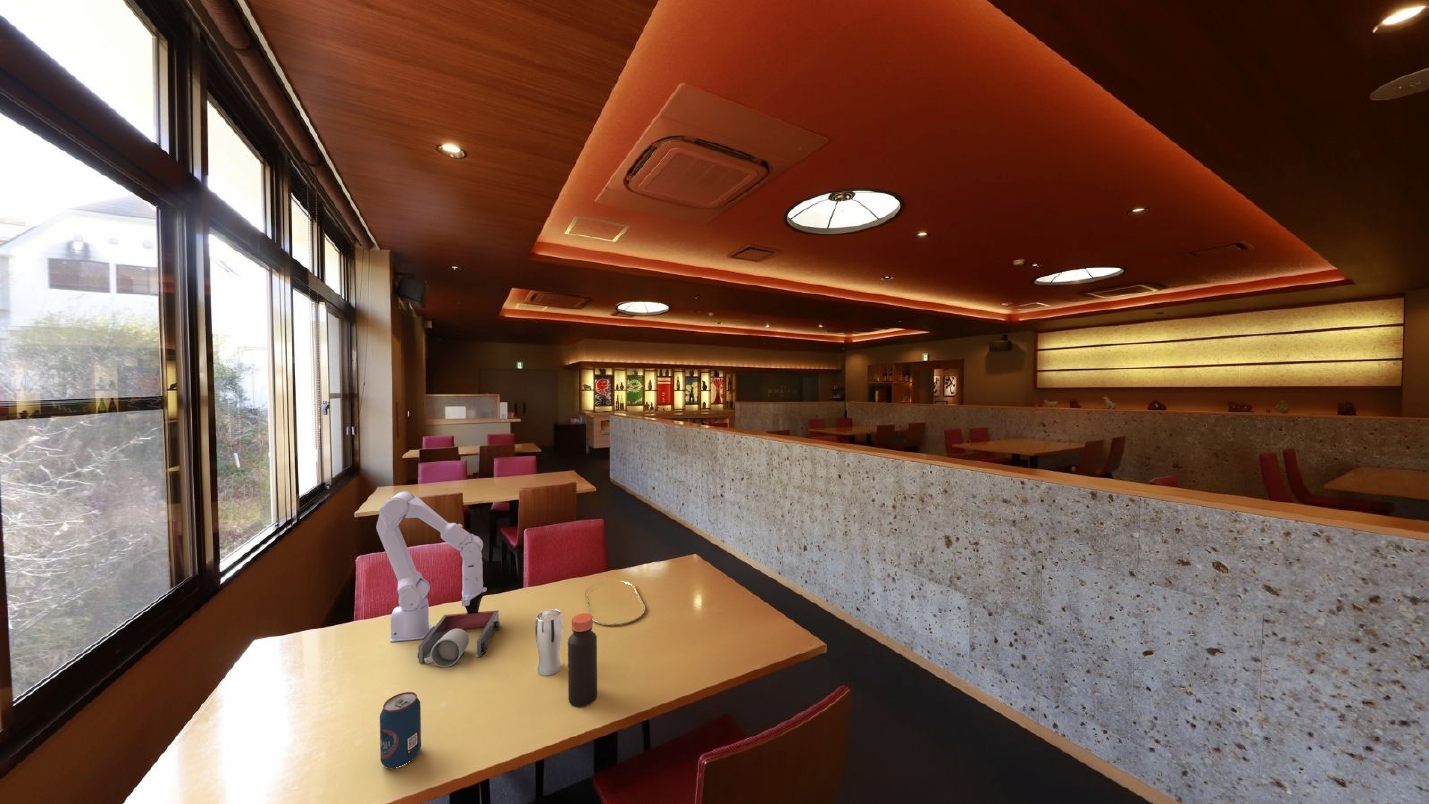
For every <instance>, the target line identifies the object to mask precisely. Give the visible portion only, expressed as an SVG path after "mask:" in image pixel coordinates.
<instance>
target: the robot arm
mask: <svg viewBox="0 0 1429 804" xmlns="http://www.w3.org/2000/svg"><path fill="white" fill-rule="evenodd" d="M404 518H405V519H413V518H415V519H416V518H417V519H419V520H421V521H423V522H424V523H426V524H427V525H429V526H430V527H432V528H433V529H435V530H437V532H440V539H442V540H443V541H444V542H445V543H447V544H448V545H449V546H451V547H453V549H455V550H457V551H459V555H460V556H461V558H462V566H461V568H462V573H461V574H462V591H461V595H462V597H461V600H460V601H461V606H462V607H464V608H465V610H466V613H472V612H480V606H481V601H482V599H483V596H484V595H485V593H486V592H487V590H488V589H487V587H484V586H483V585H484V581H483V580H484V579H483V578H484V577H483V576H484V575H483V573H484V572H483V559H482V558H483V555H482V550H483V549H484V548H483V547H484V542H483V540H482V539H481V538H480V536H477V535H475V534H473V533H471V532H469V531H467V530H466V529H464V528H463V525H462V524H461V523H458V524H457V523H456V522H448V521H447V520H445V519H444V518H443V517H442V516H441V515H440V514H438V513H437V512H436V511H435V510H433V509H432V508H431V507H430V506H429V505H427V504H426V503H425V502H424V501H423V500H422V499H421V498H420V497H418V496H415V495H414V494H413V493H412V492H410V491H405V490H403V491H400V492H397V493H396V494H395V495H394V496H392V497H390V498H388V499H387V500H386V501H385V502H384V503H383V504H382V505H381V507H380V508H379V515H378V519H377V522H376V525H375V526H376V532H377V535H378V536H379V539H380V541H381V543H382V547H383V548H384V550H385V552H386V555H387V558H388V561H389V563H390V565H391V568H392V570H393V572H394V575H395V577H396V580H397V593H398V601H397V602H398V605H399V606H396V607H394V608H393V610H392V613H391V616H390V639H389V643H390V642H391V643H393V642H402V641H414V640H424V639H425V638H426V637H427V636H428V634H429V633H430V632H431V631H432V629H433V628H434V627H435V624H429V623H430V618H429V616H430V615H429V612H430V611H429V599H428V597H427V595H428V593H429V592H430V590H431V589H430V588H431V586H430V583H429V582H428V580H426V579H425V578H424V577H423V575H422V573H421V572H419V571H418V570H417V568H416V566H415V563H414V561H413V558H412V555H411V553H410V551H409V549H408V546H407V544H406V541H405V539H404V537H403V536H404V535H403V534H402V532H401V529H400V527H399V525H400V524H401V522H402V520H403V519H404Z"/></svg>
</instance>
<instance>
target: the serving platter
mask: <svg viewBox="0 0 1429 804" xmlns="http://www.w3.org/2000/svg"><path fill="white" fill-rule="evenodd" d="M611 581H616V582H624V583H625V584H628V585H631V586H632V587H633V589H634V593H635V594H637V598H638V601H639V602H640V603H641V606H642V611H643V612H642V614H641V615H640V614H639V615H640V616H639V615H638V616H637V617H635V618H633V619H630V620H627V621H623V622H615V623H614V622H613V623H606V622H602V621H601V622H600V621H597V620H596V619H595V618H594V619H595V620H596V621H595V620H594V619H593V622H594V623H595V622H596V624H597V623H598V624H597V625H600V624H601V625H600V626H605V625H607V627H616V626H615V625H619V626H624V625H628V624H630V622H631V623H633V622H635V621H637V620H639V618H641V617H642V616H643V615H644V613H645V612H646V605H645V604H644V602H643V600H642V597H641V596H640V594H639V591H638V590H637V589H636V586H635V585H634V584H633V583H631V582H629V581H627V580H620V579H616V580H615V579H611V580H605V581H604V580H603V581H600V582H599V581H598V582H596V583H593V584H592V585H590V586H588V587H587V588H585V590H584V592H583V596H584V601H585V604H586V605H585V606H586V608H587V614H590V615H591V612H590V611H591V610H592V607H591V608H590V607H589V604H588V602H590V600H588V598H589V597H588V598H587V594H588V592H589V591H590V590H591V589H592V588H593V587H594V586H596V585H601V584H604V583H607V582H611ZM588 595H589V594H588ZM632 621H633V622H632ZM627 623H628V624H627ZM623 624H624V625H623Z"/></svg>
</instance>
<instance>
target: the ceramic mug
mask: <svg viewBox="0 0 1429 804" xmlns="http://www.w3.org/2000/svg"><path fill="white" fill-rule="evenodd" d="M469 643H470V636H469V634H468V632H467V631H465V630H464V629H459V628H457V629H452V630H448V631H446V632H445V633H444V635H443V636H442V637H441V639H440V640H439V641H438V642H437V643H436V644H435V645H434V646H433V648H432V650H431V652H430V653H429V654H427V655H426V656H425V657H424V661H423V662H424V663H425V664H431V663H434V665H435V666H437V667H440V668H449V667H451V666H453V665H455V664H456V663H457V662H458V661H459V659H460V658H461V657H462V656H463V654H464V652H465V651H466V649H467V647H468V646H469Z"/></svg>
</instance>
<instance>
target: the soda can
mask: <svg viewBox="0 0 1429 804" xmlns="http://www.w3.org/2000/svg"><path fill="white" fill-rule="evenodd" d="M421 710H422V709H421V701H420V699H419V698H418V695H417V694H416V693H415V692H413V691H406V692H400V693H398V694H395V695H392V696H391V697H389V698H388V699H387V700H385V702H384V704H383V707H382V710H381V712H380V714H379V741H380V742H379V746H380V747H379V750H380V755H379V756H380V758H379V759H380V762H381V764H382V765H383V766H384V767H385V768H386V767H387V768H386V769H388V768H396V767H399V766H402V765H404V764H406V763H408V762H409V761H411V760H412V759H414V758H415V759H416V757H417V756H416V755H418V754H419V752H420V751H421V748H422V717H421V715H422V713H421V712H422V711H421ZM415 759H414V760H415ZM411 762H412V761H411Z"/></svg>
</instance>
